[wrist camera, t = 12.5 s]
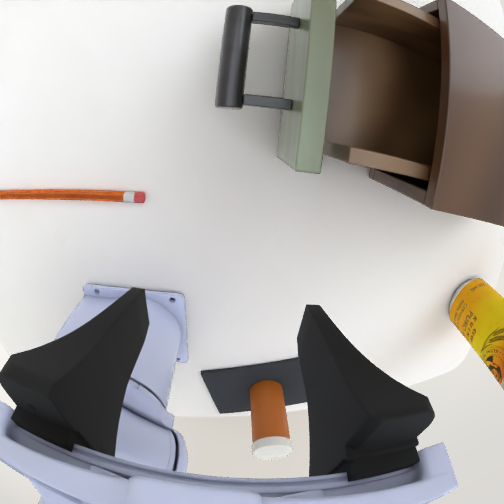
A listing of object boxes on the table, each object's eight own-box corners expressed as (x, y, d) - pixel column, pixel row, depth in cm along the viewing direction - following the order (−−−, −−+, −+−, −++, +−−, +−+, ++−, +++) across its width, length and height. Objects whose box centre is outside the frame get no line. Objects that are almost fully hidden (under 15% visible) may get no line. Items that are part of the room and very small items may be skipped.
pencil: (145, 201, 19) (142, 204, 19) (-9, 198, 18) (-13, 200, 17) (145, 191, 19) (142, 193, 19) (-10, 190, 18) (-14, 192, 17)
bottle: (247, 399, 29) (250, 460, 21) (250, 379, 27) (254, 445, 20) (280, 398, 29) (288, 459, 22) (285, 379, 27) (296, 444, 20)
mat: (220, 411, 30) (219, 413, 30) (200, 370, 27) (200, 373, 26) (318, 396, 30) (319, 399, 29) (318, 353, 26) (319, 356, 26)
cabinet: (368, 177, 19) (431, 209, 12) (382, 26, 14) (444, -5, 7) (479, 204, 20) (537, 236, 13) (493, 85, 15) (554, 90, 8)
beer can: (442, 296, 25) (522, 395, 11) (479, 264, 23) (566, 346, 10) (449, 327, 27) (512, 417, 13) (483, 299, 25) (552, 376, 12)
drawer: (216, 152, 17) (204, 163, 12) (233, -3, 13) (231, -50, 7) (429, 184, 19) (481, 208, 13) (442, 54, 14) (494, 46, 8)
